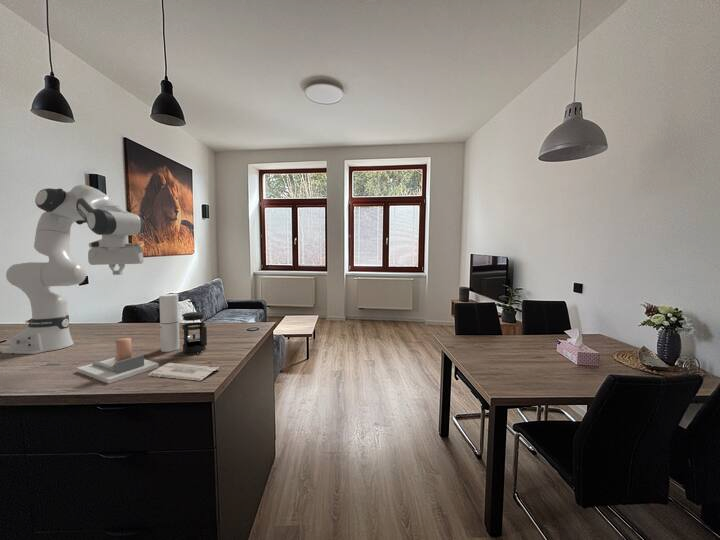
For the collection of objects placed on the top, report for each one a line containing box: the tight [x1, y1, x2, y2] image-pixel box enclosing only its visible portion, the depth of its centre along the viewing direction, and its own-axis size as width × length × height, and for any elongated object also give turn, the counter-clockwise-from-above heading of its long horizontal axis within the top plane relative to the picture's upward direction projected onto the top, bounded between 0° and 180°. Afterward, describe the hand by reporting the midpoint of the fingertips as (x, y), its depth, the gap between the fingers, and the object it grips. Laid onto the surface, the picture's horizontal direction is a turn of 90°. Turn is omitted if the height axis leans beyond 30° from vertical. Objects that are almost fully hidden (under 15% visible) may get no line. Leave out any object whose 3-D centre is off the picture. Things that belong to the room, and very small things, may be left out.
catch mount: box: [76, 354, 160, 385], centre depth 109 cm, size 22×16×6 cm
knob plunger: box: [113, 337, 133, 367], centre depth 108 cm, size 5×5×10 cm
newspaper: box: [147, 362, 222, 381], centre depth 108 cm, size 23×12×2 cm, turn 79°
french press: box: [181, 299, 208, 355], centre depth 130 cm, size 12×9×23 cm
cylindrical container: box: [158, 293, 180, 353], centre depth 132 cm, size 7×7×25 cm
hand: (117, 274), depth 129 cm, fingers closed
